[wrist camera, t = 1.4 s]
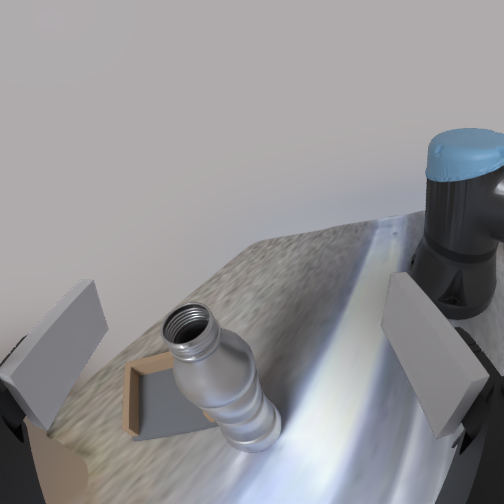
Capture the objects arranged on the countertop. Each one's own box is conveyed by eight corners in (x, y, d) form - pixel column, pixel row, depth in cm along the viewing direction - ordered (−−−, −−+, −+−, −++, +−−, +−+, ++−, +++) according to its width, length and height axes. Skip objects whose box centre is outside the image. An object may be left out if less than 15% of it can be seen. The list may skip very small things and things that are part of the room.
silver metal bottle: (225, 455, 28) (126, 364, 16) (234, 405, 33) (159, 290, 22) (282, 458, 26) (223, 368, 15) (286, 405, 32) (241, 282, 20)
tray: (208, 351, 41) (200, 339, 39) (221, 425, 31) (212, 416, 29) (135, 371, 40) (125, 360, 39) (134, 441, 31) (122, 432, 29)
